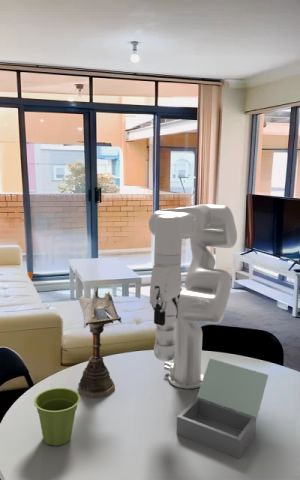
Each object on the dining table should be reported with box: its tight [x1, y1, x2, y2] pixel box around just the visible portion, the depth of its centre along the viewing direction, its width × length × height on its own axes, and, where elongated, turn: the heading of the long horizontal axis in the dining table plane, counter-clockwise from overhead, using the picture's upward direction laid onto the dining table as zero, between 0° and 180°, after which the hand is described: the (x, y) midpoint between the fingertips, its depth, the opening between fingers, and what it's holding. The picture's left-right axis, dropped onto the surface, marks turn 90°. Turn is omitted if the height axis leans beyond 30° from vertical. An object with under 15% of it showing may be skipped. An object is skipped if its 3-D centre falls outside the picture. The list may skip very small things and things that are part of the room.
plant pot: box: [33, 387, 81, 447], centre depth 110 cm, size 12×12×11 cm
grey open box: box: [176, 397, 257, 459], centre depth 114 cm, size 18×12×5 cm, turn 57°
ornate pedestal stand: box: [78, 284, 122, 399], centre depth 132 cm, size 17×13×35 cm
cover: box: [196, 358, 269, 419], centre depth 121 cm, size 18×12×1 cm
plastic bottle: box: [153, 298, 177, 362], centre depth 119 cm, size 6×7×20 cm
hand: (165, 320), depth 119 cm, fingers closed on plastic bottle, 6 cm apart
